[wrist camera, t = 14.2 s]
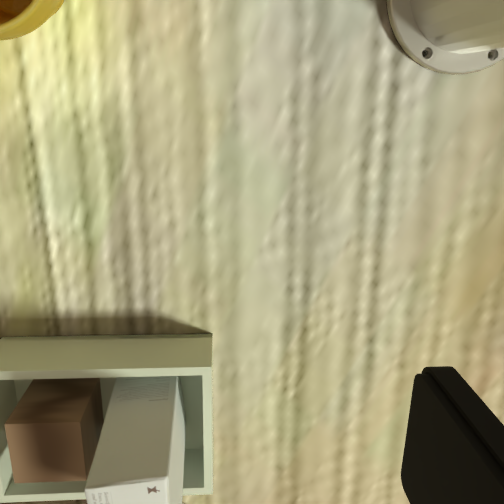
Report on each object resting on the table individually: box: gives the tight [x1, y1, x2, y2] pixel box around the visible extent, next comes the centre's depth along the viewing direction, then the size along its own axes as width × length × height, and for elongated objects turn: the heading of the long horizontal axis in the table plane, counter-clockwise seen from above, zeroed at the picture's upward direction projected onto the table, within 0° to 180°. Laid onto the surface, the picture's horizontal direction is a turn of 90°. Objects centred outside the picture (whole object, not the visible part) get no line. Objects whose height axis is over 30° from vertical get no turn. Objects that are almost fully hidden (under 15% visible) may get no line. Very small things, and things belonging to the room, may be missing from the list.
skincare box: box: [84, 376, 186, 504], centre depth 40 cm, size 8×6×15 cm
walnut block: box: [4, 378, 104, 483], centre depth 44 cm, size 6×6×7 cm
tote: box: [0, 334, 213, 503], centre depth 45 cm, size 20×14×6 cm
